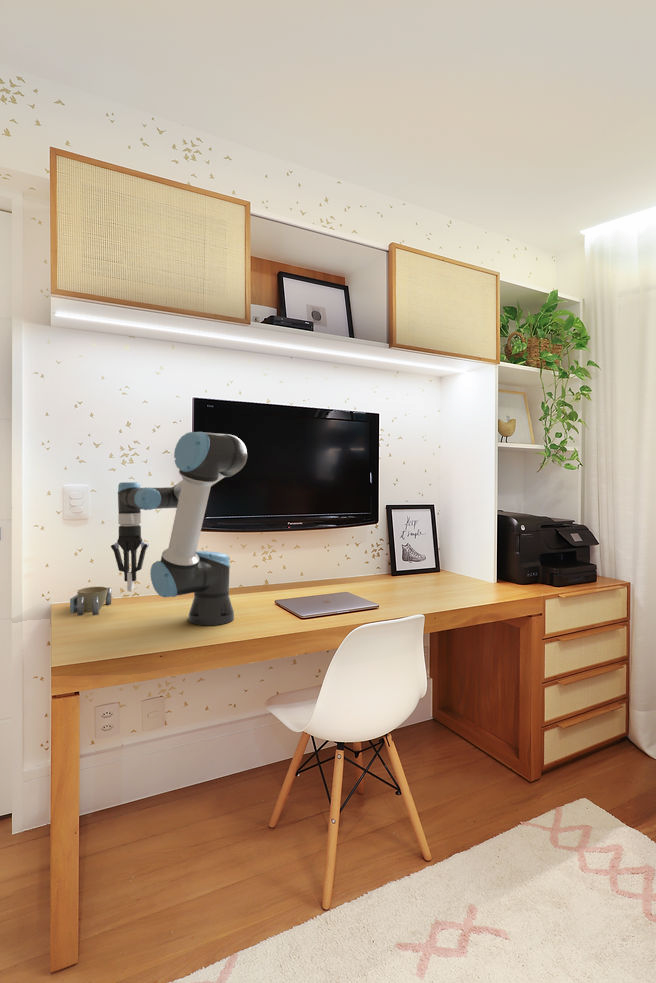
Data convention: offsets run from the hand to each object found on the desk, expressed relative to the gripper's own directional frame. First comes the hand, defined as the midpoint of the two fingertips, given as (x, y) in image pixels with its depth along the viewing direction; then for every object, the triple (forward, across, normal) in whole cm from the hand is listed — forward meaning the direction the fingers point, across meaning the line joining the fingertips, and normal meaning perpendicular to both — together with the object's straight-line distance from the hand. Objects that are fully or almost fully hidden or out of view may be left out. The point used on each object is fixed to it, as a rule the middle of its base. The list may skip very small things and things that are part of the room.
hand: (130, 590), depth 189 cm
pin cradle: (+7, +14, -1) cm, 16 cm away
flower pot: (+7, +14, -1) cm, 15 cm away
